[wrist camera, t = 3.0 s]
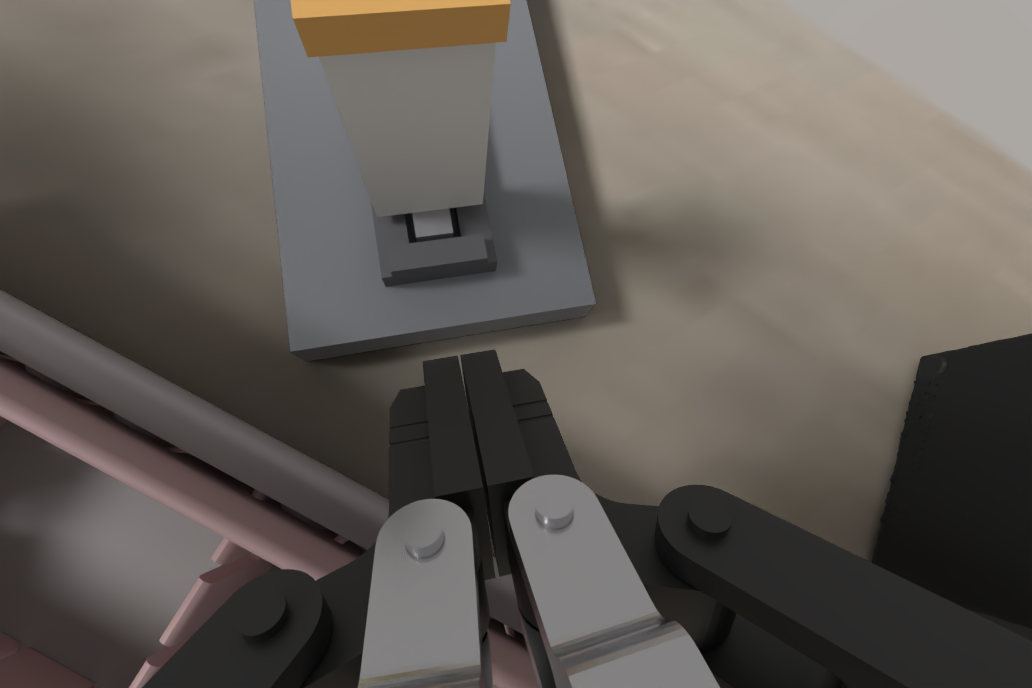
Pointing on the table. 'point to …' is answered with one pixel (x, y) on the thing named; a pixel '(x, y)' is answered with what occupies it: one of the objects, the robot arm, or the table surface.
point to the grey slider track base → (391, 239)
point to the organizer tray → (154, 515)
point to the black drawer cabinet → (967, 483)
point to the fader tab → (411, 96)
